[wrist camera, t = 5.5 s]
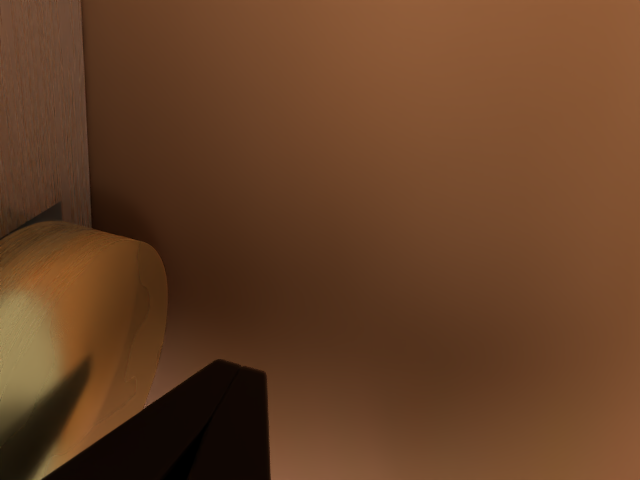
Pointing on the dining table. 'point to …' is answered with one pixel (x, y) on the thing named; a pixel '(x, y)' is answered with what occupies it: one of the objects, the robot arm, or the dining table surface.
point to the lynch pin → (73, 340)
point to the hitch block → (42, 115)
